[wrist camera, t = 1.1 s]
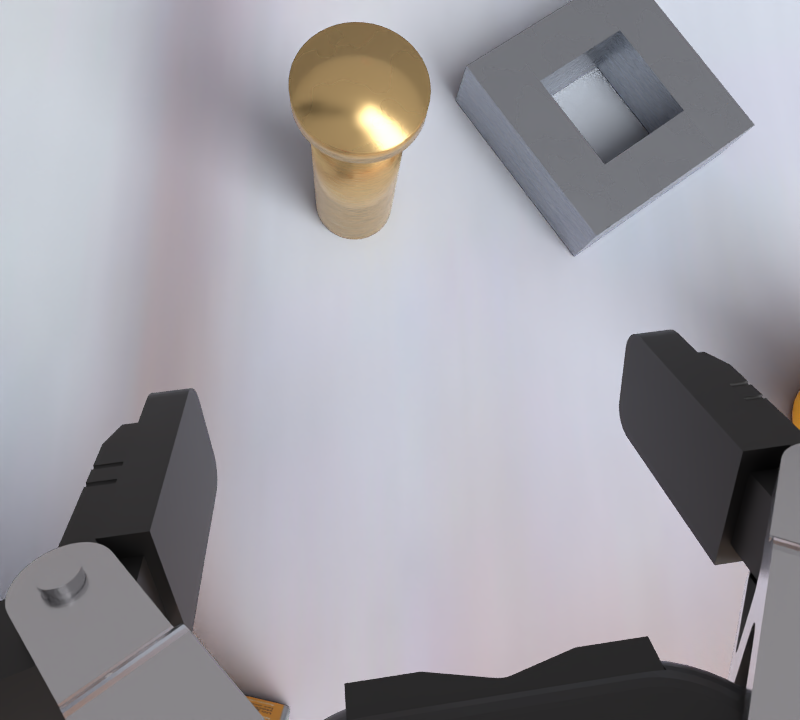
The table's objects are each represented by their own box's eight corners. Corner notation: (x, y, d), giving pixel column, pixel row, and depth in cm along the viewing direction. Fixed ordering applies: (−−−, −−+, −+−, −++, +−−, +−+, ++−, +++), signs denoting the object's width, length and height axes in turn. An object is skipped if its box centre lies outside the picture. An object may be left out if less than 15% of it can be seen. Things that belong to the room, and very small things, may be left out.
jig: (455, 100, 41) (466, 65, 37) (603, 7, 43) (627, -34, 39) (574, 256, 40) (596, 235, 36) (720, 153, 42) (754, 124, 38)
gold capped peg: (284, 190, 39) (260, 66, 27) (365, 139, 40) (376, -2, 28) (341, 269, 38) (342, 178, 26) (422, 216, 39) (458, 105, 27)
